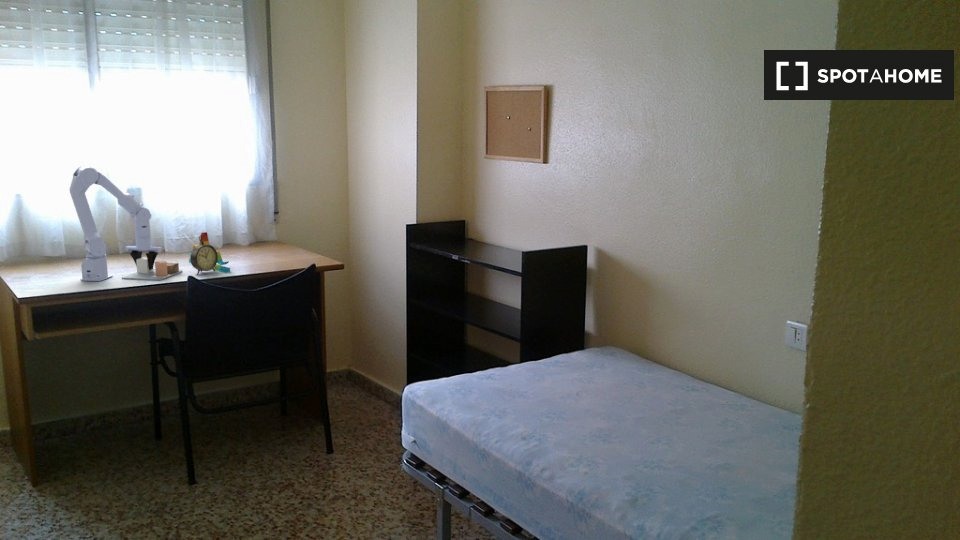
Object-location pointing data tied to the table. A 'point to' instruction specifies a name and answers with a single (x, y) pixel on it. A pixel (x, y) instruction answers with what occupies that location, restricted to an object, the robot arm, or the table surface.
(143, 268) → the cream block
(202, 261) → the alarm clock
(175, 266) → the walnut base block
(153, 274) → the building board
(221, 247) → the table surface
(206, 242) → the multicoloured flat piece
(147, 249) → the robot arm
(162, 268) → the terracotta round block
